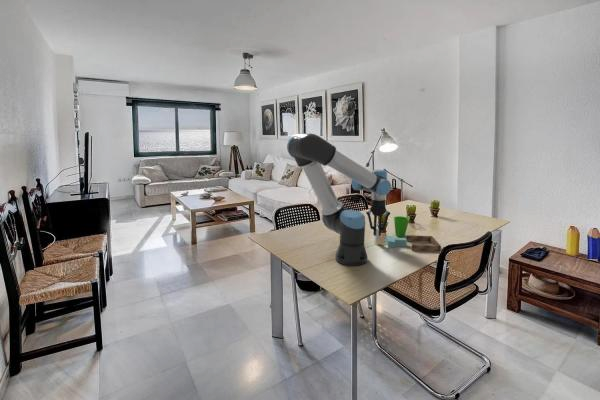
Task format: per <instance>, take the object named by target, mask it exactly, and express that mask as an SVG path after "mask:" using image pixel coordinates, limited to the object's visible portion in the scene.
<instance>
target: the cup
mask: <svg viewBox="0 0 600 400" xmlns="http://www.w3.org/2000/svg"><path fill="white" fill-rule="evenodd" d="M393 220H394V231H395V233H394V235H395V237H396V238H405V237H406V235H407V229H408V225H409V221H410V218H409V217H407V216H402V215H398V216H394V217H393Z"/></svg>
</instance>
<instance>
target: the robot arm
mask: <svg viewBox="0 0 600 400" xmlns="http://www.w3.org/2000/svg"><path fill="white" fill-rule="evenodd" d="M286 145H287V146H286V150H287V153H288V154H289V156H290V157H292V158H293V159H294V161H295V162H296V164H297V166H298V167H299V168H301V169H302V170H303V171H304V173H305V175H306V179H308V182H309V184H310V185H311V188H312V190H313V192H314V194H315V196H316V198H317V200H318V202H319V204H320V206H321V213H320V214H321V215H322V216H321V220H322V223H323V224H324V226H325V227H326V228H327V229H329V230H330V231H333V232H335V233H337V234H339V245H338V247H337V251H336V254H335V261H336V262H337V263H339V264H341V265H344V266H350V267H351V266H352V267H353V266H354V267H356V266H357V267H359V266H363V265H365V264H367V263H368V258H369V257H368V254H367V253H368V252H367V249H366V247H365V237H366V236H365V232H366V216H365V215H364V213H362V212H361V211H358V210H354V209H346V208H345V206H344V204H343V202H342V201H339V200H338V198H337V196H336V194H335V192H334V190H333V187H332V186H331V184H330V181H329V179H328V176H327V175H326V172H325V170H324V167H326V166H328V167H330V168H331V169H334V170H335V171H336V172H338V173H341V174H342V175H343V176H346V177H347V178H349V179H350V180H351V188H352V189H353V190H354V191H366V192H370V193H371V197H370V198H371V203H370V204H371V205H370V209H369V210H367V211H365V213H366V215H367V218H368V222H369V226H370V229H371V230H373V233H372V234H373V236H375V237H374V241H375V242H376V243H379V241H380V239H379V237H380V236H381V235H382V230H385V229H386V225H387V223H388V218H389V216H390V215H391V212H390V211H389V210H387V208H386V204H387V203H386V202H387V200H386V198H387V195H388V194H389V193H390V191H391V189H392V184H391V181H389V180H388V173H387V171H386V170H385V169H374V170H372V171H370V170H369V169H367V168H366V167H365V166H362V165H361V164H359V163H357V162H356V161H354V160H353V159H351V158H350V157H348V156H346V155H345V154H343V153H341V152H340V151H338V150H337V147H336V146H335V145H333V144H332V143H330V142H328V141H327V140H325V139H324V138H322V137H321V136H320V135H317V134H314V133H302V132H299V133H296V134H293V135H292V136H291V137H289V139H288V140H287V144H286ZM371 213H372V214H371ZM384 214H385V216H384ZM371 215H373V222H372V217H371ZM383 216H384V218H383ZM377 218H378V219H377ZM382 218H383V222H382ZM377 220H378V224H377ZM377 226H378V227H377ZM381 237H382V236H381Z"/></svg>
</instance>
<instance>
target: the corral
mask: <svg viewBox="0 0 600 400" xmlns="http://www.w3.org/2000/svg"><path fill="white" fill-rule="evenodd" d="M405 238H406V240H407V242H424V243H425V242H429V243H430V244H419V243H418V244H413V243H412V244H411V249H410V250H411V251H414V252H415V251H416V252H438V253H439V252H441V250H442V249H441V248H442V245H440V243H439V242H438V241H437V240H436V239H435V237H434V236H433V235H413V234H412V235H410V234H408V235H407V234H405Z"/></svg>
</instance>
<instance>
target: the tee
mask: <svg viewBox="0 0 600 400" xmlns="http://www.w3.org/2000/svg"><path fill="white" fill-rule="evenodd" d="M407 243H408V241H407V240H406V237H402V238H401V237H394V236H393V235H385V244H386V247H387V248H388V249H391V248H392V249H395V248H396V247H407V245H408V244H407Z"/></svg>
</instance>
